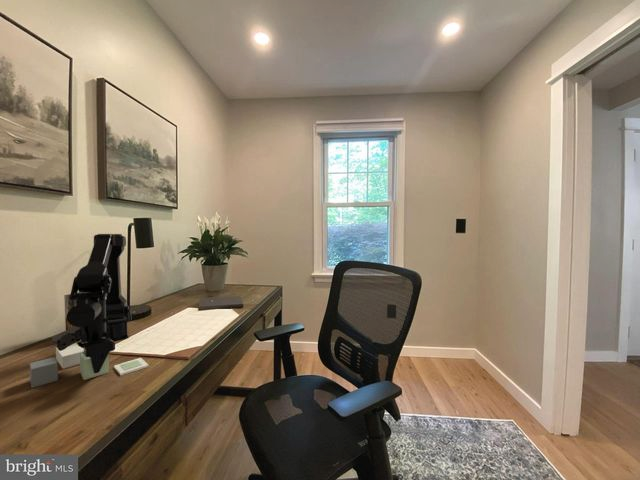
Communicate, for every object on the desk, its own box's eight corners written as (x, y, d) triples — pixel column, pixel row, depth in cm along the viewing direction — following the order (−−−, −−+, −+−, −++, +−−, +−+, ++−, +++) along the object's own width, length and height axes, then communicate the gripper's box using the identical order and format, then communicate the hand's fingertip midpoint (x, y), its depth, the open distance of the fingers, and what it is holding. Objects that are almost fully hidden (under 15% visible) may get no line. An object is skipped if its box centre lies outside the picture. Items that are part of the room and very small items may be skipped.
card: (140, 359, 88) (140, 357, 88) (148, 366, 84) (148, 364, 84) (114, 367, 83) (114, 365, 83) (120, 375, 79) (120, 373, 79)
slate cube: (55, 374, 79) (55, 356, 79) (57, 380, 76) (57, 362, 76) (30, 381, 76) (29, 363, 76) (31, 388, 72) (31, 369, 72)
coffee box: (98, 333, 110) (98, 292, 110) (80, 339, 104) (79, 296, 104) (83, 330, 113) (82, 291, 113) (64, 336, 107) (63, 294, 107)
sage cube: (104, 366, 84) (103, 348, 84) (108, 372, 80) (108, 353, 80) (80, 373, 80) (79, 354, 80) (84, 380, 76) (83, 360, 76)
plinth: (95, 349, 96) (95, 338, 96) (104, 357, 90) (104, 345, 90) (56, 360, 88) (55, 347, 88) (62, 370, 82) (62, 356, 82)
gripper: (50, 315, 80) (52, 368, 80) (59, 331, 67) (60, 394, 68) (99, 307, 88) (100, 355, 89) (115, 320, 76) (116, 376, 76)
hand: (94, 369), depth 80 cm, fingers closed on sage cube, 5 cm apart
